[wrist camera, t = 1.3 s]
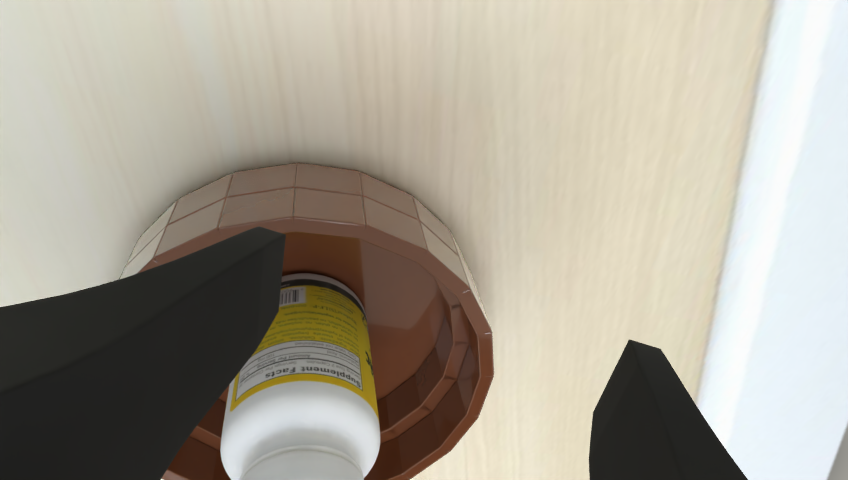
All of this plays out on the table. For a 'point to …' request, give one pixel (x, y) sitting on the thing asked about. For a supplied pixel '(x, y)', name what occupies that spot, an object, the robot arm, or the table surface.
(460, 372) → the glazed bowl
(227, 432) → the supplement bottle
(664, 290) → the table surface
